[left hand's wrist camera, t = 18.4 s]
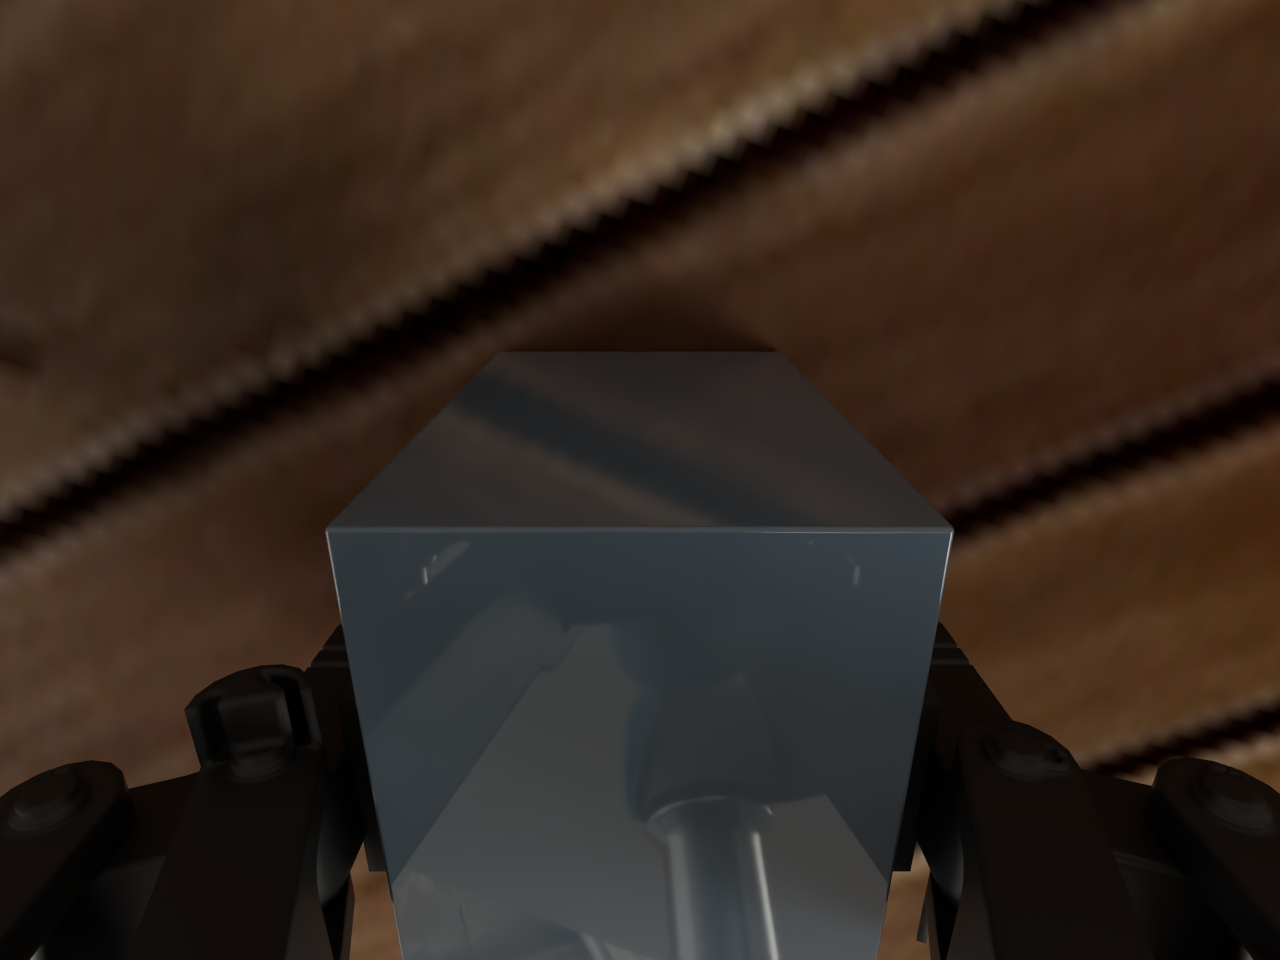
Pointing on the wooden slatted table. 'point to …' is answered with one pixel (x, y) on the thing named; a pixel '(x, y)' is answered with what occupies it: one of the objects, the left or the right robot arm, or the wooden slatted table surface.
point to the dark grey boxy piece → (639, 662)
